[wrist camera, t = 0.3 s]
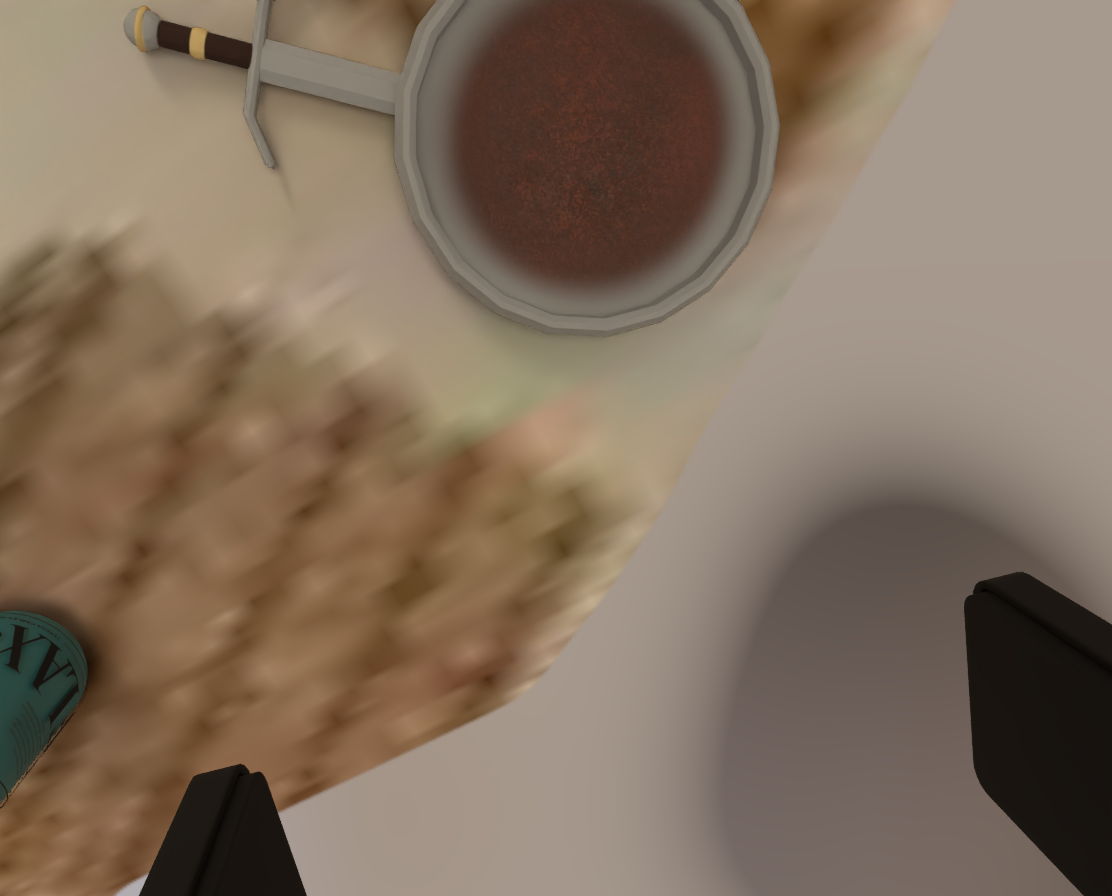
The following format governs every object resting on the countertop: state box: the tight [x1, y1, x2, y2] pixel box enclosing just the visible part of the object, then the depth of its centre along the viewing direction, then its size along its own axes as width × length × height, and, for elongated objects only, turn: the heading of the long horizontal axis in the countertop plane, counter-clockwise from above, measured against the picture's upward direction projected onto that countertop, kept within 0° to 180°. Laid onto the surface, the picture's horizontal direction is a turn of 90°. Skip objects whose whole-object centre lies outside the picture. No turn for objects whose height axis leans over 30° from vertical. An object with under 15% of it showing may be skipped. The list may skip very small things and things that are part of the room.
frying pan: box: [124, 0, 780, 337], centre depth 36 cm, size 17×3×28 cm
